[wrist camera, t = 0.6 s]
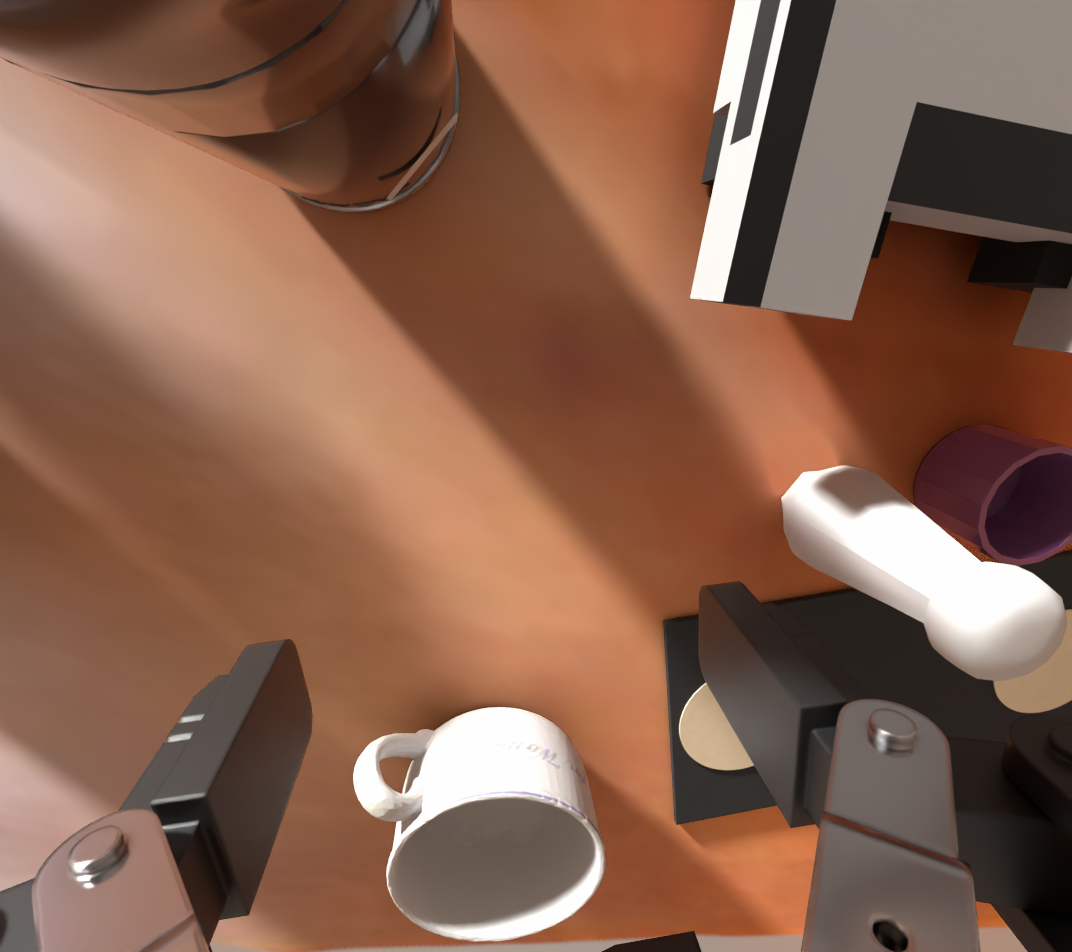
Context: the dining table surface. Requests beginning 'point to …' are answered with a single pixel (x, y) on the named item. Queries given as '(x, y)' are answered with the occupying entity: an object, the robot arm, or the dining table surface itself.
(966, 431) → the purple cup
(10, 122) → the dining table surface
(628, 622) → the dining table surface
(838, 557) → the salt shaker
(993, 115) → the game console
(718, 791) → the placemat
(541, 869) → the teacup
